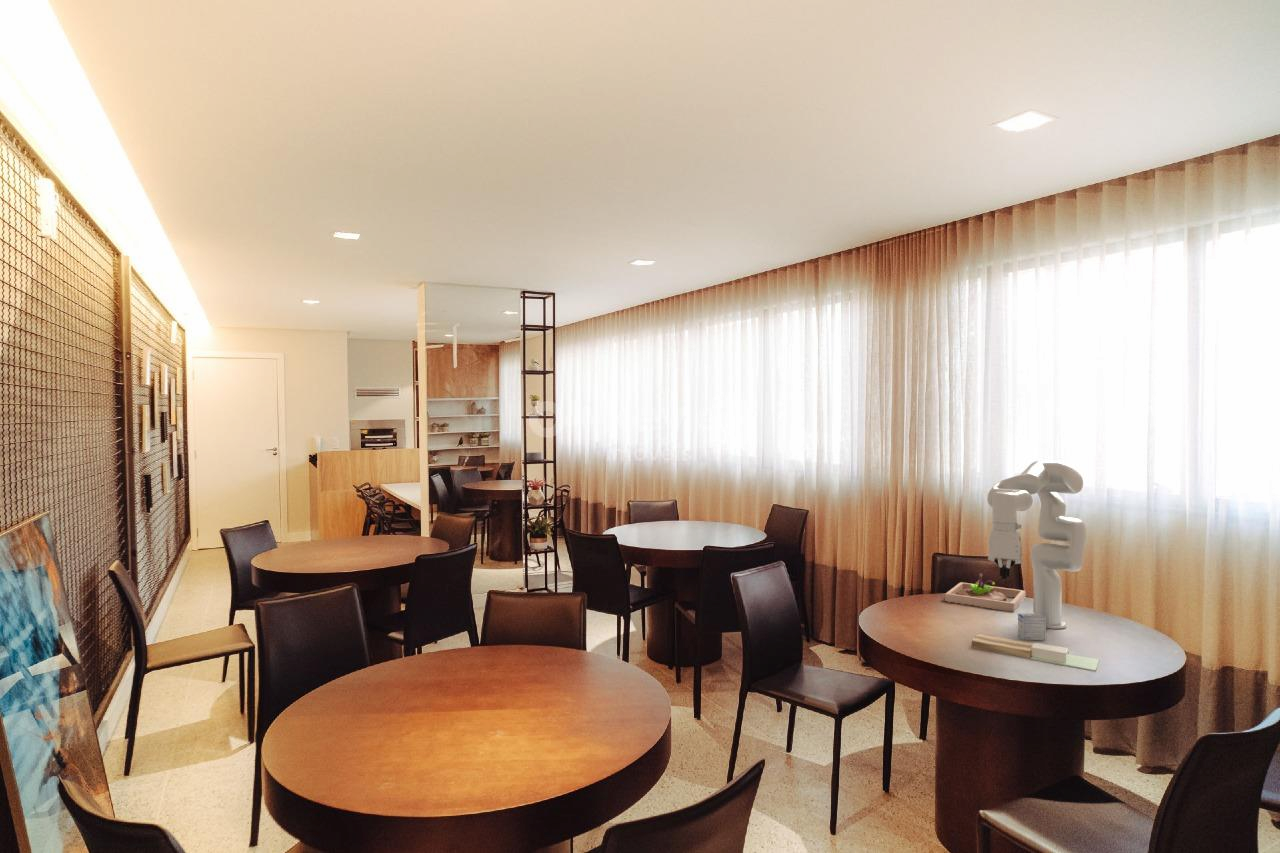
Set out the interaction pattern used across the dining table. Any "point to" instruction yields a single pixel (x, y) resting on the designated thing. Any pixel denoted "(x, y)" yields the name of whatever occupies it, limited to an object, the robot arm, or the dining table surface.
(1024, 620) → the medicine box
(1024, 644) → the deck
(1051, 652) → the cream rectangular block
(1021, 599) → the planter tray
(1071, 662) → the mat
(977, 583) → the plant
